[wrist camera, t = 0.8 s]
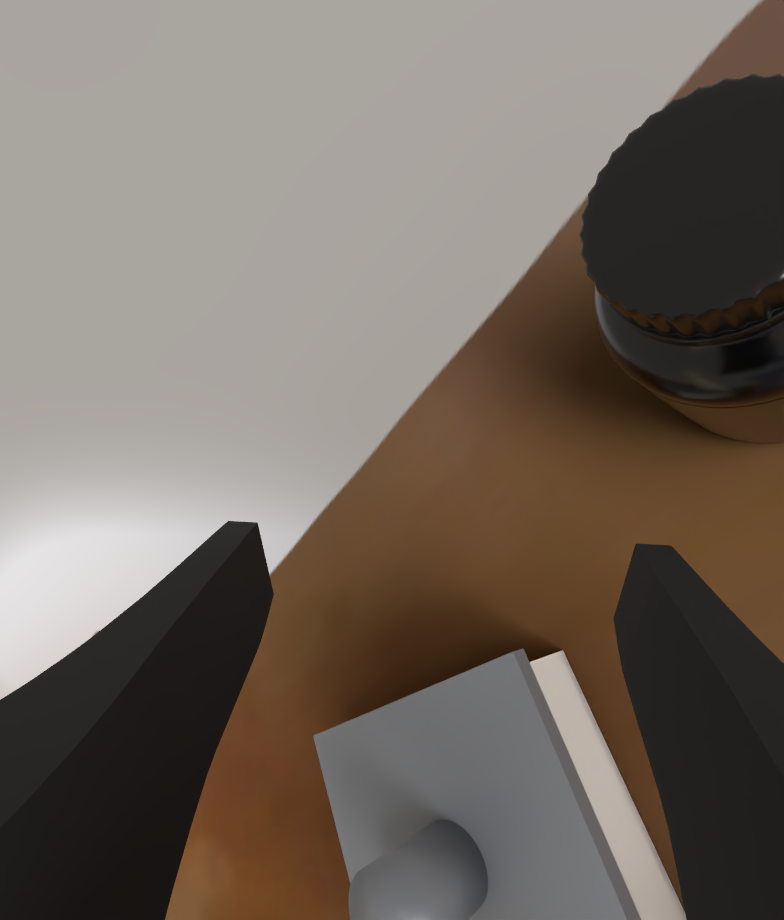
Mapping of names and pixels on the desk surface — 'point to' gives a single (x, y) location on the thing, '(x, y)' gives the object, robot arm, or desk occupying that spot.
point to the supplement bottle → (698, 256)
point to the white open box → (607, 792)
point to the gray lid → (468, 807)
